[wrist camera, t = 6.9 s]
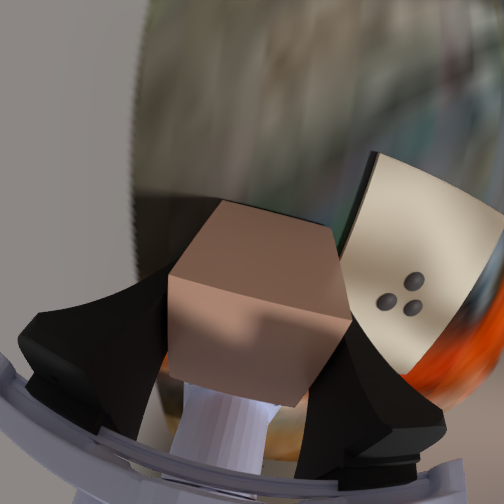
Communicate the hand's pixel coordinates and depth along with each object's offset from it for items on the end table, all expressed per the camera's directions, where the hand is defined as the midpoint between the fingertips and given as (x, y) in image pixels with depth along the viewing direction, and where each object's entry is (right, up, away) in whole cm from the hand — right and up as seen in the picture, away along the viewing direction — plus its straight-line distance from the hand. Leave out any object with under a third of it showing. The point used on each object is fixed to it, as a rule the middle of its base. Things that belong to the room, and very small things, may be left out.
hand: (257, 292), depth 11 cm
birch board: (+8, -1, +2) cm, 8 cm away
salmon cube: (0, +1, +2) cm, 2 cm away
